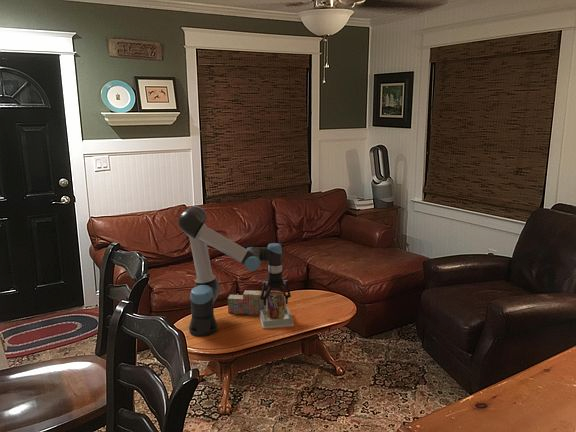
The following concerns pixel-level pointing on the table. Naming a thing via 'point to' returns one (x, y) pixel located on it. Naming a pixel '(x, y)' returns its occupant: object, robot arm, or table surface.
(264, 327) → the open storage bin
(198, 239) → the robot arm
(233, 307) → the stack of blocks
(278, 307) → the candy box
